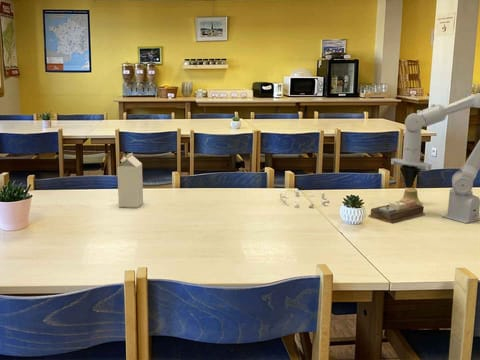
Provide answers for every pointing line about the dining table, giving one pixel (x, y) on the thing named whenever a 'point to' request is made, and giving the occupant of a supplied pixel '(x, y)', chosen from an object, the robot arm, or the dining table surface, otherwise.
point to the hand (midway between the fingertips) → (408, 187)
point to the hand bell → (411, 194)
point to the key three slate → (387, 209)
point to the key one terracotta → (409, 203)
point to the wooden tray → (397, 214)
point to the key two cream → (397, 205)
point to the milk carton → (130, 182)
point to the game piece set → (309, 196)
